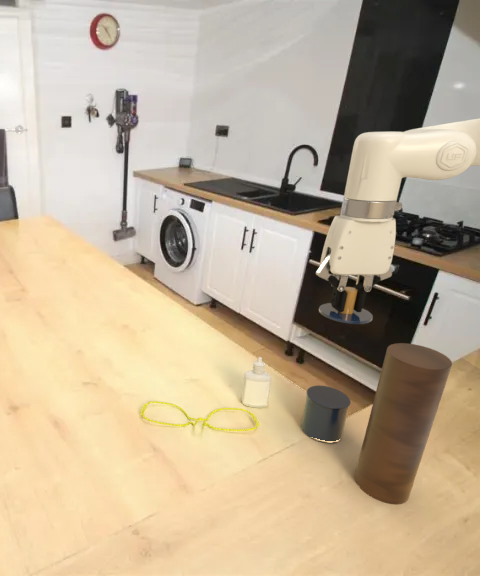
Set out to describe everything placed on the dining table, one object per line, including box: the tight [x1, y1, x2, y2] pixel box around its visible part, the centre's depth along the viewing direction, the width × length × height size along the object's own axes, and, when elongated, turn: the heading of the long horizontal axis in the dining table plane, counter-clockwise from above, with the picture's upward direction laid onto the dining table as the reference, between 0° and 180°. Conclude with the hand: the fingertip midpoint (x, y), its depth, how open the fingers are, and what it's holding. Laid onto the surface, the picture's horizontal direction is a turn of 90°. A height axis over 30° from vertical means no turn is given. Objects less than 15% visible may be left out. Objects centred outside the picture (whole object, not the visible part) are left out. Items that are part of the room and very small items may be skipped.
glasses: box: [139, 400, 260, 432], centre depth 88 cm, size 25×10×5 cm, turn 80°
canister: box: [300, 385, 351, 441], centre depth 84 cm, size 8×8×8 cm
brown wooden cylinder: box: [354, 342, 453, 505], centre depth 67 cm, size 8×8×26 cm
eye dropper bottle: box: [240, 356, 272, 409], centre depth 92 cm, size 4×6×12 cm
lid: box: [318, 286, 374, 325], centre depth 75 cm, size 9×9×5 cm
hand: (346, 308), depth 76 cm, fingers closed on lid, 2 cm apart
